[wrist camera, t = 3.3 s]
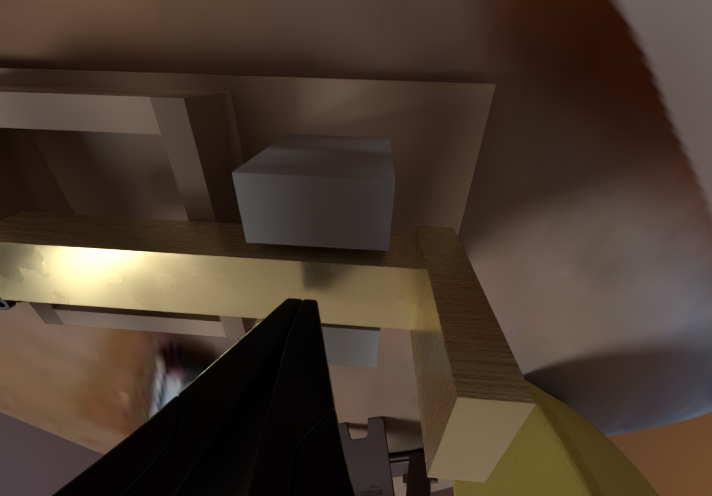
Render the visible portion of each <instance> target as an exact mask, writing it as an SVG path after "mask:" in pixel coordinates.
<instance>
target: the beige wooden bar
mask: <svg viewBox="0 0 712 496" xmlns="http://www.w3.org/2000/svg"><path fill="white" fill-rule="evenodd" d="M0 297H1V298H2V300H15V301H29V302H42V303H56V304H69V305H83V306H97V307H110V308H124V309H137V310H151V311H165V312H178V313H192V314H205V315H219V316H233V317H246V318H260V319H264V318H265V317H266V316H268V315H269V314H270V313H271V312H272V311H273V310H274V309H276V308H277V307H278V306H279V305H280V304H281V303H282V302H283V301H285V300H286V299H288V298H297V299H301V300H304V299H311V300H317V302H318V307H319V313H320V319H321V323H328V324H341V325H355V326H368V327H382V328H396V329H409V330H410V332H411V341H412V349H413V358H414V367H415V375H416V384H417V393H418V401H419V410H420V419H421V427H422V436H423V445H424V454H425V462H426V471H427V477H431V478H441V479H451V480H462V481H472V482H482V483H485V481H486V480H487V478H488V477H489V475H490V474H491V472H492V471H493V469H494V468H495V466H496V465H497V463H498V461H499V460H500V458H501V457H502V455H503V454H504V452H505V451H506V449H507V448H508V446H509V445H510V443H511V442H512V440H513V439H514V437H515V435H516V434H517V432H518V431H519V429H520V428H521V426H522V425H523V423H524V422H525V420H526V419H527V417H528V416H529V414H530V413H531V411H532V409H533V408H534V406H535V405H536V403H535V400H534V398H533V396H532V394H531V392H530V390H529V388H528V385H527V383H526V381H525V379H524V377H523V375H522V373H521V370H520V368H519V366H518V364H517V362H516V360H515V358H514V355H513V353H512V351H511V349H510V347H509V345H508V343H507V340H506V338H505V336H504V334H503V332H502V330H501V328H500V325H499V323H498V321H497V319H496V317H495V315H494V313H493V310H492V308H491V306H490V304H489V302H488V300H487V298H486V295H485V293H484V291H483V289H482V287H481V285H480V283H479V280H478V278H477V276H476V274H475V272H474V270H473V268H472V265H471V263H470V261H469V259H468V257H467V255H466V253H465V250H464V248H463V246H462V244H461V242H460V240H459V238H458V235H457V233H456V231H455V229H454V228H444V227H426V226H417V230H416V234H408V233H391V232H390V239H389V249H388V251H380V250H364V249H347V248H331V247H314V246H298V245H281V244H265V243H248V242H246V238H245V234H244V229H243V224H235V223H217V222H200V221H182V220H165V219H148V218H130V217H113V216H96V215H78V214H61V213H44V212H26V211H22V212H20V213H17V214H14V215H12V216H9V217H7V218H4V219H2V220H0Z"/></svg>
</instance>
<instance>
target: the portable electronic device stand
mask: <svg viewBox="0 0 712 496" xmlns="http://www.w3.org/2000/svg"><path fill="white" fill-rule="evenodd" d="M338 425H339V431H340V436H341V441H342V445H343V450H344V455H345V459H346V463H347V466H348V470H349V474H350V478H351V481H352V485H353V489H354V492H355V495H356V496H395V494H394V487H393V480H392V477H400V476H403V484H404V486H407V490H406V496H431V484H433V483H438V478H431V477H427V471H426V462H425V454H424V451H423V450H420V451H415V452H412V453H405V454H397V455H390V456H389V451H388V444H387V437H386V430H385V422H384V420H383V418H381V417H374V418H368V435H367V437H365V438H360V439H354V440H353V439H351V437H350V433H349V428H348V424H347V423H340V424H338Z"/></svg>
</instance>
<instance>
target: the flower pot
mask: <svg viewBox="0 0 712 496" xmlns="http://www.w3.org/2000/svg"><path fill="white" fill-rule="evenodd" d="M525 381H526V380H525ZM526 383H527V385H528V388H529V390H530V392H531V394H532V396H533V398H534V400H535V403H536V405H535V406H534V408H533V409H532V411H531V413H530V414H529V416H528V417H527V419H526V420H525V422H524V423H523V425H522V426H521V428H520V429H519V431H518V432H517V434H516V435H515V437H514V439H513V440H512V442H511V443H510V445H509V446H508V448H507V449H506V451H505V452H504V454H503V455H502V457H501V458H500V460H499V461H498V463H497V465H496V466H495V468H494V469H493V471H492V472H491V474H490V475H489V477H488V478H487V480H486V481H485V483H482V482H472V481H462V480H453V487H454V496H659V494H658V493H657V492H656V491H655V489H654V488H653V487H652V486H651V484H650V483H649V482H648V480H647V479H646V478H645V477H644V476H643V474H641V472H640V471H639V470H638V469H637V467H636V466H635V465H634V464H633V463H632V462H631V461H630V460H629V459H628V458H627V456H626V455H624V453H623V452H622V451H621V450H620V449H619V448H618V447H617V446H615V444H614V443H613V442H612V441H610V440H609V439H608V438H607V437H606V436H605V435H604V434H603V433H602V432H600V431H599V430H598V429H597V428H596V427H594V426H593V425H592V424H591V423H590V422H588V421H587V420H586V419H585V418H583V417H582V416H581V415H579V414H578V413H577V412H575V411H574V410H573V409H571V408H570V407H569V406H568V405H566V404H565V403H563V402H561V401H560V400H558V399H556V398H555V397H553V396H551V395H550V394H548V393H546V392H544V391H543V390H541V389H540V388H538V387H536V386H535V385H533V384H531V383H530V382H528V381H526Z"/></svg>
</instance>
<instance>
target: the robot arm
mask: <svg viewBox="0 0 712 496" xmlns="http://www.w3.org/2000/svg"><path fill="white" fill-rule="evenodd" d="M15 305H16V302H15V300H2V298H1V297H0V310H9V309H10V308H12V307H13V306H15ZM52 496H356V495H355V492H354V489H353V485H352V481H351V478H350V474H349V470H348V466H347V463H346V459H345V455H344V450H343V445H342V441H341V436H340V431H339V425H338V419H337V413H336V411H335V402H334V396H333V390H332V384H331V379H330V373H329V367H328V361H327V355H326V349H325V343H324V337H323V331H322V325H321V319H320V313H319V307H318V302H317V300H311V299H304V300H301V299H297V298H288V299H286V300H285V301H283V302H282V303H281V304H280V305H279V306H278V307H277V308H276V309H274V310H273V311H272V312H271V313H270V314H269V315H268V316H266V317H265V318H264V319H263V320H262V321H261V322H260V323H258V324H257V325H256V326H255V327H254V328H253V329H252V330H250V331H249V332H248V333H247V334H246V335H245V336H244V337H242V338H241V339H240V340H239V341H238V342H237V343H236V344H235V345H233V346H232V347H231V348H230V349H229V350H228V351H227V352H225V353H224V354H223V355H222V356H221V357H220V358H219V359H217V360H216V361H215V362H214V363H213V364H212V365H211V366H209V367H208V368H207V369H206V370H205V371H204V372H203V373H202V374H200V375H199V376H198V377H197V378H196V379H195V380H194V381H192V382H191V383H190V384H189V385H188V386H187V387H186V388H184V389H183V390H182V391H181V392H180V393H179V397H178V396H175V397H174V398H173V399H172V400H171V401H169V402H168V403H167V404H166V405H165V406H164V407H163V408H161V409H160V410H159V411H158V412H157V413H156V414H154V415H153V416H152V417H151V418H150V419H149V420H147V421H146V422H145V423H144V424H143V425H141V426H140V427H139V428H138V429H137V430H136V431H134V432H133V433H132V434H131V435H129V436H128V437H127V438H126V439H124V440H123V441H122V442H121V443H119V444H118V445H117V446H115V447H114V448H113V449H112V450H110V451H109V452H108V453H107V454H105V455H104V456H103V457H102V458H101V459H99V460H98V461H97V462H95V463H94V464H92V465H91V466H90V467H89V468H87V469H86V470H85V471H83V472H82V473H81V474H79V475H78V476H77V477H76V478H74V479H73V480H72V481H70V482H69V483H68V484H66V485H65V486H64V487H62V488H61V489H60V490H58V491H57V492H56V493H55V494H53V495H52Z"/></svg>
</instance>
